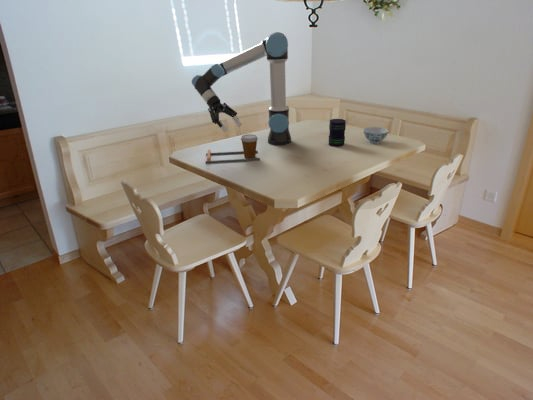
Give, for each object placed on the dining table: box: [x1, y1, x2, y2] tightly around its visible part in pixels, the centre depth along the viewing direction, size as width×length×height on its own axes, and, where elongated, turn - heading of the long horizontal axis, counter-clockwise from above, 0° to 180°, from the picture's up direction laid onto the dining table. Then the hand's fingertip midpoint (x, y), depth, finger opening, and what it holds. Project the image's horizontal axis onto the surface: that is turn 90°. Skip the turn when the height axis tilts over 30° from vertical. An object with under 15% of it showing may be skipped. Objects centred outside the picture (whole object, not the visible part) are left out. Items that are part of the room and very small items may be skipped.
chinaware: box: [363, 126, 389, 145], centre depth 246 cm, size 15×15×8 cm
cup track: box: [205, 149, 261, 164], centre depth 224 cm, size 30×15×3 cm, turn 96°
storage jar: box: [328, 118, 347, 148], centre depth 241 cm, size 10×10×15 cm
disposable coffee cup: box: [240, 133, 259, 159], centre depth 223 cm, size 10×10×12 cm
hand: (233, 128), depth 225 cm, fingers open, 13 cm apart
